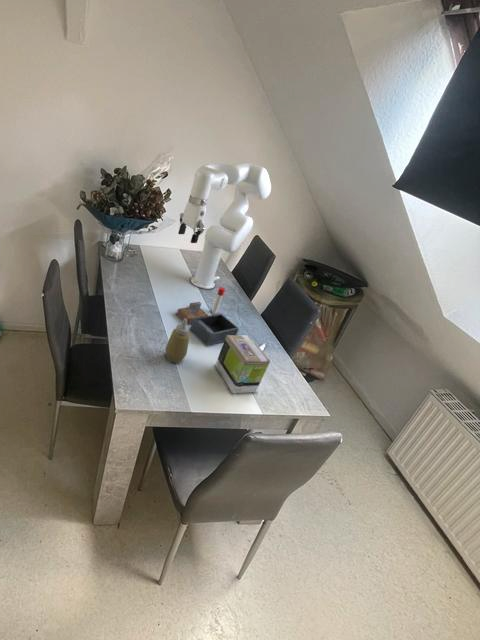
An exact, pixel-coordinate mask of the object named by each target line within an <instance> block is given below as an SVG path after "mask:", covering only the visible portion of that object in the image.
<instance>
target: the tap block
mask: <svg viewBox="0 0 480 640" xmlns="http://www.w3.org/2000/svg"><path fill="white" fill-rule="evenodd" d="M188 308H189V305H186V307H181V308H177V312H176V315H177V316H178V317H179V318H180V319H181V320H182V321H183V320H184V319H187V325H190V324H192V321H193V319H194V318H199V317H204V316H209V314H208V313H207V312H205V311H204V310H203V309H202V308H201V307H200V310H199V312H195V313H188Z"/></svg>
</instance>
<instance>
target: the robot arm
mask: <svg viewBox="0 0 480 640" xmlns="http://www.w3.org/2000/svg"><path fill="white" fill-rule="evenodd" d="M227 185H228V186H229V185H230V186H233V185H235V191H234V197H233V201H232V202H231V203H230V204H229V206H228V207H227V208H226V210H225V211H224V213H223V214H222V215H221V217H220V218H219V224H220V226H219V225H210V226H209V227H208V228H207V229H206V227H205V225H204V223H205V219H206V216H207V215H206V214H207V206H206V205H207V204H208V199H209V196H210V192H211V190H214V191H221V190H223V189H225V187H226V186H227ZM271 191H272V183H271V179H270V175H269V173H268V170H267V169H266V168H265V167H264V166H261V165H258V164H255V163H251V162H239V163H235V164H221V163H208V164H203V165H201V166H199V167H198V168H197V169H196V171H195V173H194V179H193V182H192V186H191V189H190V194H189V197H188V200H187V203H186V204H185V207H184V211H183V212H181V213H179V229H178V235H185V234H186V230H187V226H188V227H189V228H190V229H192V230H193V233H192V235H191V239H190V244H197V243H198V240H199V237H200V236H201V234H203V233H204V231H205V234H204V242H203V243H204V244H203V248H202V252H201V254H200V255H201V256H200V258H199V262H198V266H197V268H196V272H195V275H194V276H192V277H191V279H190V282H191V283H192V285H194V286H195V287H197V288H200V289H204V290H212V289H214V287H215V285H216V283H215V282H216V281H219V280H220V279H221V277H220V276H218V275H216V273H217V270H218V266H219V263H220V260H221V257H222V251H224V252H226V253H228V254H232V253H235V252H236V251H237V250H238V249H239V248H240V246H241V245H242V243H243V242H244V240H245V239H246V238H247V236H249V234H250V233H251V231H252V229H253V225H254V219H253V218H252V217H251V216H249V215H246V214H247V212H248V210H249V208H250V204H249V203H250V202H249V198H248V197H251V198H253V199H256V200H260V201H264V200H266V199H267V198H268V197H269V196H270V194H271Z"/></svg>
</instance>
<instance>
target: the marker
mask: <svg viewBox="0 0 480 640" xmlns="http://www.w3.org/2000/svg"><path fill="white" fill-rule="evenodd" d="M225 291H226V288H225V287H222V286H219V288H218V291H217V294H216V297H215V301H214V303H213V306H212V310H211V313H212V314H213V315H214V314H218V310H219V308H220V306H221V301H222V299H223V296H224V294H225Z"/></svg>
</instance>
